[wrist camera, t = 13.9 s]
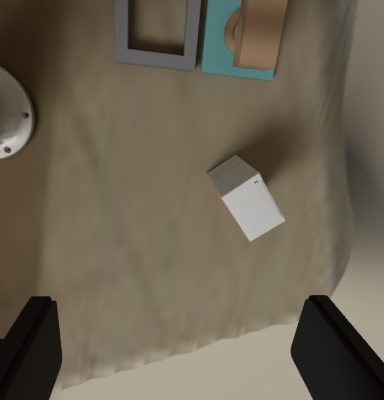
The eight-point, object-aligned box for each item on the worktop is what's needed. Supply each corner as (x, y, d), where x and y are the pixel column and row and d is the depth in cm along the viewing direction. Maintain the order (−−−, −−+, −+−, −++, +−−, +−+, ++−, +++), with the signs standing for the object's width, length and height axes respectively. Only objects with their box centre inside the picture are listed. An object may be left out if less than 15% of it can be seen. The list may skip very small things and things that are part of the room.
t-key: (229, -12, 33) (249, -43, 25) (268, -5, 33) (299, -34, 26) (219, 70, 36) (234, 63, 28) (254, 74, 36) (279, 69, 29)
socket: (117, 62, 35) (114, 61, 33) (117, -32, 31) (114, -40, 30) (192, 71, 36) (194, 70, 34) (200, -18, 33) (203, -25, 31)
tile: (200, 72, 36) (201, 72, 36) (208, -17, 33) (210, -20, 32) (269, 80, 38) (272, 80, 37) (284, -4, 34) (288, -7, 33)
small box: (205, 173, 42) (219, 196, 32) (235, 153, 41) (259, 171, 31) (229, 211, 45) (249, 243, 35) (258, 193, 44) (287, 221, 34)
